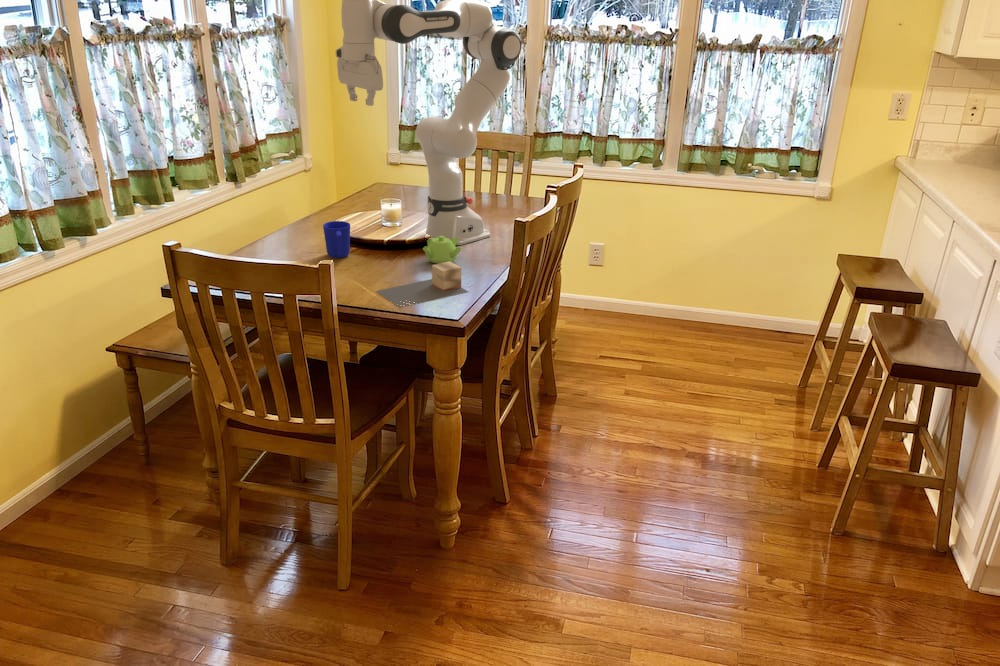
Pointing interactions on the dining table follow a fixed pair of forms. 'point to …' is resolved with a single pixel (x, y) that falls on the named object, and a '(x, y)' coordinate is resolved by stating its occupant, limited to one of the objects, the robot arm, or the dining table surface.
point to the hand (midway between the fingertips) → (361, 103)
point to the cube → (446, 276)
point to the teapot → (441, 249)
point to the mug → (337, 238)
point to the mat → (417, 293)
